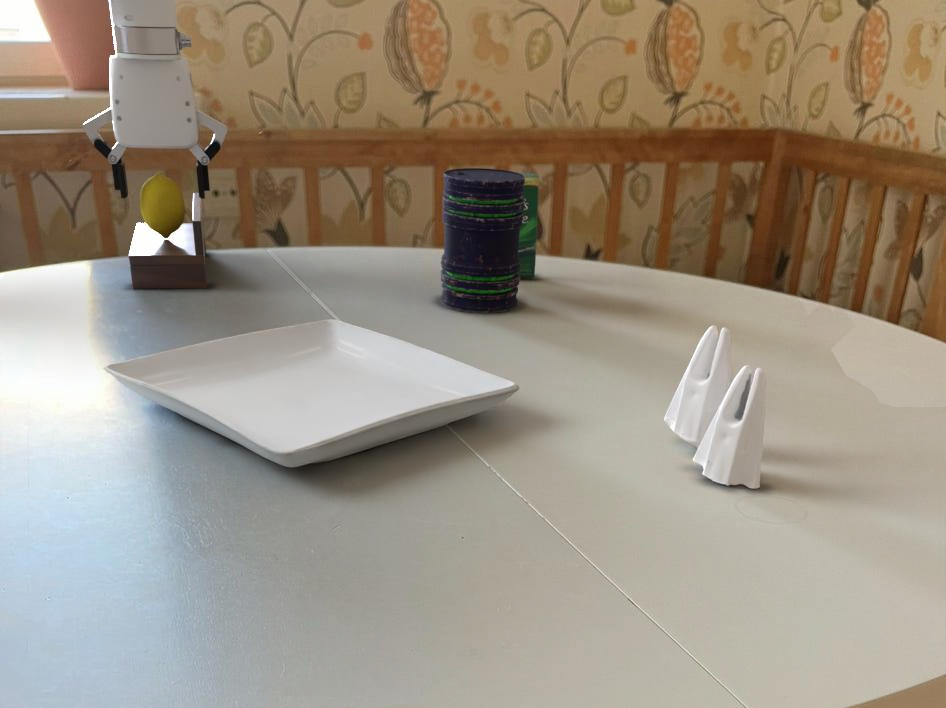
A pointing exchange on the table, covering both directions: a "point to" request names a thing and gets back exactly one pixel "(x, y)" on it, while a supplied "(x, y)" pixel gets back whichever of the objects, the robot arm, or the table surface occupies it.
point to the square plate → (312, 389)
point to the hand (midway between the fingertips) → (163, 196)
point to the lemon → (162, 205)
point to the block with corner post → (170, 255)
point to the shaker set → (721, 413)
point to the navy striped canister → (481, 239)
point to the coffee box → (529, 227)
